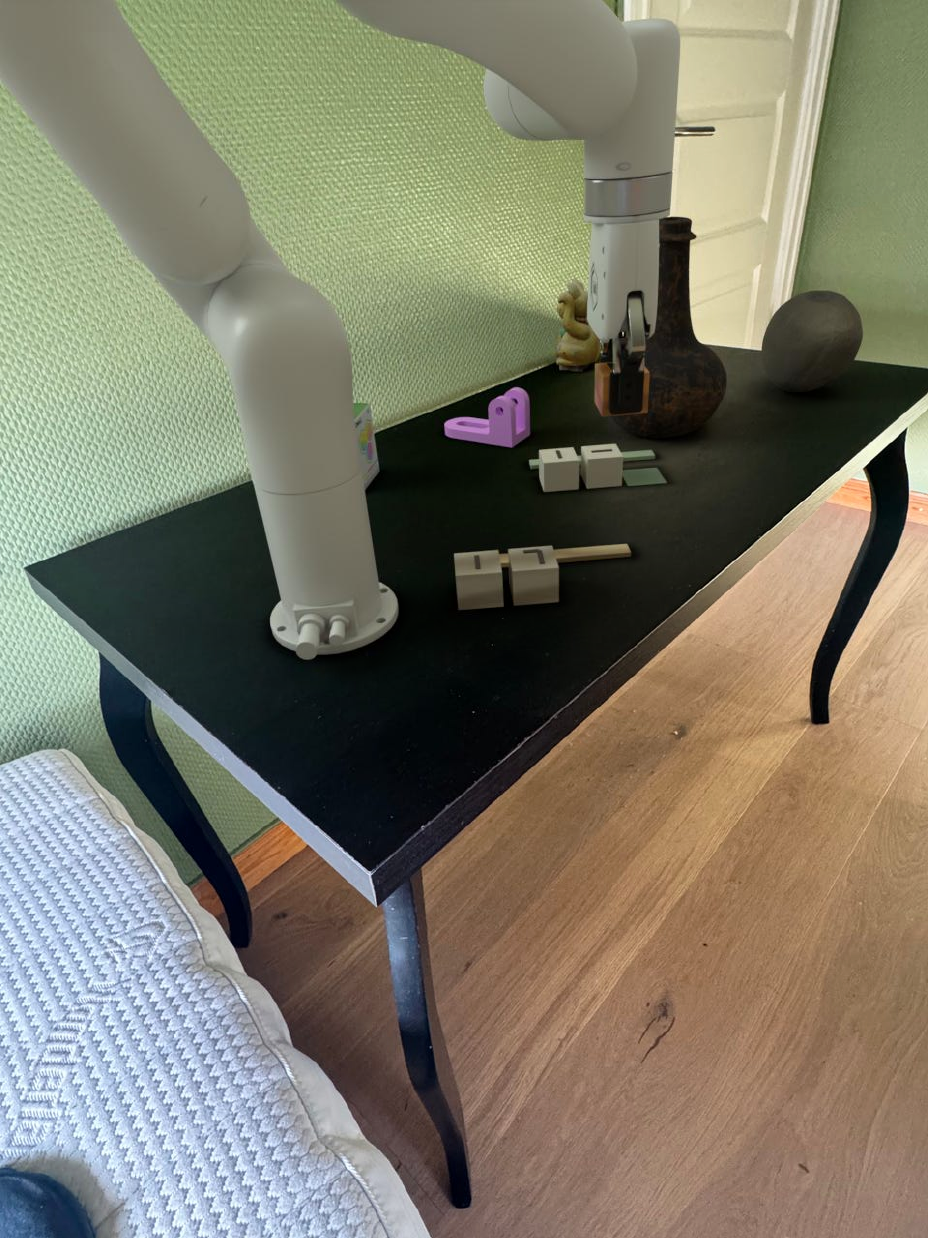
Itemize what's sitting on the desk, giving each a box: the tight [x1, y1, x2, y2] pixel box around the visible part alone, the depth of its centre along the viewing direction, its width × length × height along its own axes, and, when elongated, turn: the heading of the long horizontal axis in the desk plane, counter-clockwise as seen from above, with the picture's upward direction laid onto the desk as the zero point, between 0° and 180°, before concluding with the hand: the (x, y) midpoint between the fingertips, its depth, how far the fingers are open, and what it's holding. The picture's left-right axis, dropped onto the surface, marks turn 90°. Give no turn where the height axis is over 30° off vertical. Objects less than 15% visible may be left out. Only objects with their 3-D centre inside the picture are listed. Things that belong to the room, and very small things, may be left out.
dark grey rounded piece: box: [760, 290, 864, 393], centre depth 118 cm, size 14×14×15 cm
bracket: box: [443, 386, 531, 448], centre depth 114 cm, size 13×6×7 cm, turn 58°
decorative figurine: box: [555, 278, 601, 373], centre depth 138 cm, size 10×8×15 cm
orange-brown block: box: [594, 362, 650, 418], centre depth 76 cm, size 4×4×4 cm
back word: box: [528, 443, 668, 493], centre depth 100 cm, size 10×17×4 cm, turn 93°
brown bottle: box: [610, 216, 728, 439], centre depth 106 cm, size 18×18×28 cm
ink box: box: [353, 402, 380, 491], centre depth 100 cm, size 7×4×13 cm, turn 168°
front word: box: [453, 543, 632, 611], centre depth 79 cm, size 10×19×4 cm, turn 93°
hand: (620, 401), depth 77 cm, fingers closed on orange-brown block, 4 cm apart
